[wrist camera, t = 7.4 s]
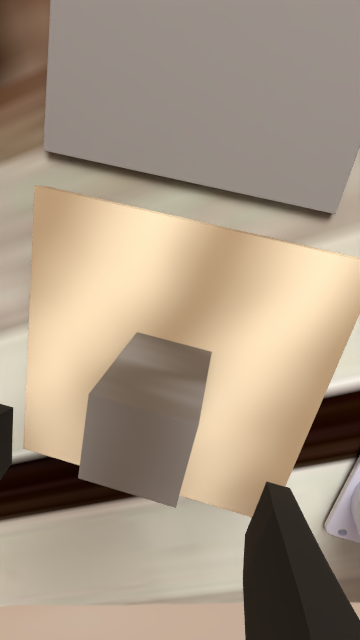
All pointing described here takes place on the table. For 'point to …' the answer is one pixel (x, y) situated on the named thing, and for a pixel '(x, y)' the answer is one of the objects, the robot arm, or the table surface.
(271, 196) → the mat
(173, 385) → the lid
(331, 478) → the table surface
